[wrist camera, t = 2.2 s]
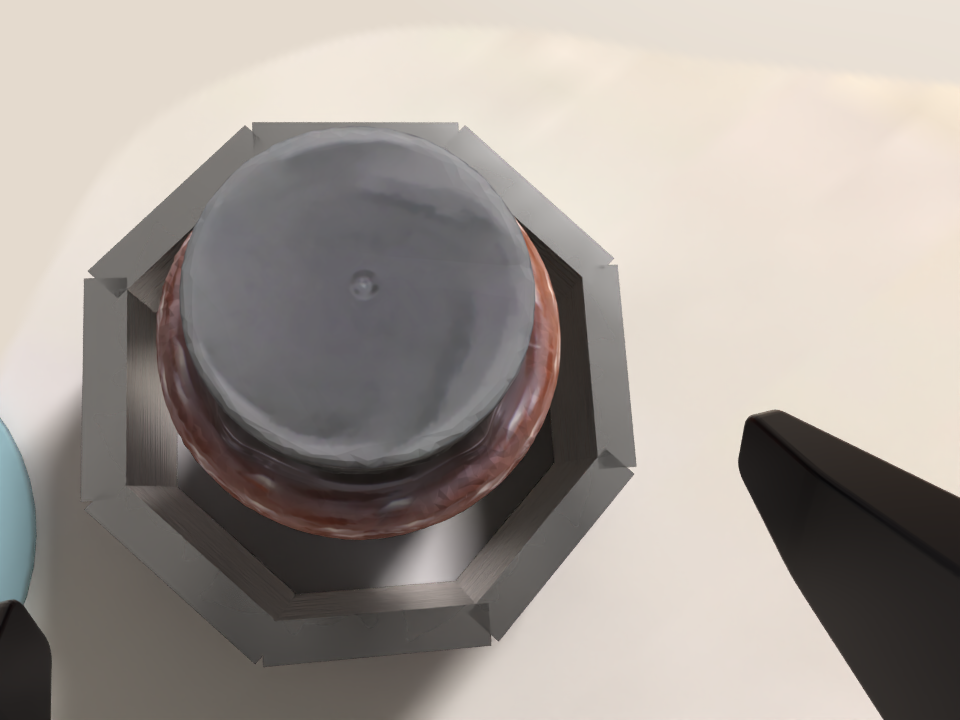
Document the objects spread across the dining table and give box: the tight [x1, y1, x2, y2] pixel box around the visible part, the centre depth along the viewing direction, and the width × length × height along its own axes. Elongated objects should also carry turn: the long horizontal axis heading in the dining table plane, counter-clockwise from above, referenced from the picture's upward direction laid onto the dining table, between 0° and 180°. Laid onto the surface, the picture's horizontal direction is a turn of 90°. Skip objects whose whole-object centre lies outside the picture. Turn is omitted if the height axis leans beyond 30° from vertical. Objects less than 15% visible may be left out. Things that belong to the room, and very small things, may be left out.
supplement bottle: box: [156, 126, 561, 540], centre depth 14 cm, size 6×6×11 cm
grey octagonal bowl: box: [81, 122, 636, 667], centre depth 18 cm, size 11×11×4 cm
